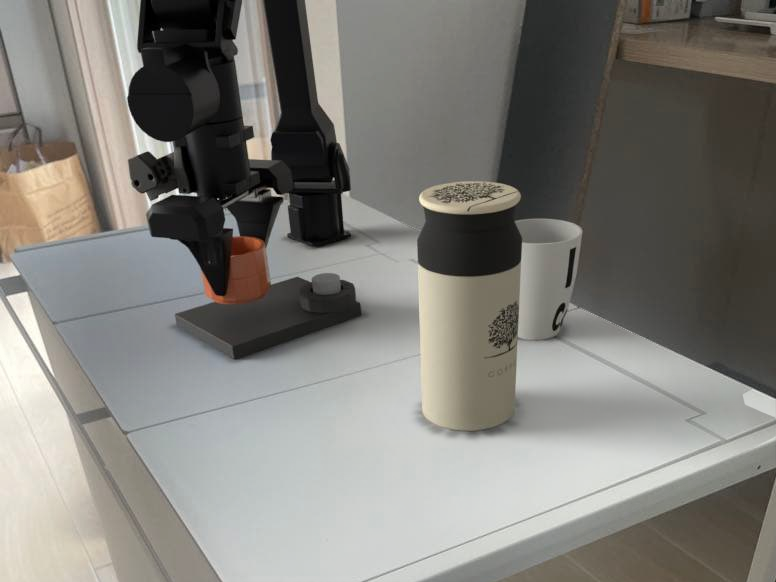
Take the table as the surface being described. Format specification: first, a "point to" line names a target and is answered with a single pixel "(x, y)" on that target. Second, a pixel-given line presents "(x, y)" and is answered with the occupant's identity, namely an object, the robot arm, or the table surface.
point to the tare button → (326, 284)
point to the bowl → (244, 272)
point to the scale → (269, 317)
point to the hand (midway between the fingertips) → (238, 282)
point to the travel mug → (469, 303)
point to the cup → (546, 275)
